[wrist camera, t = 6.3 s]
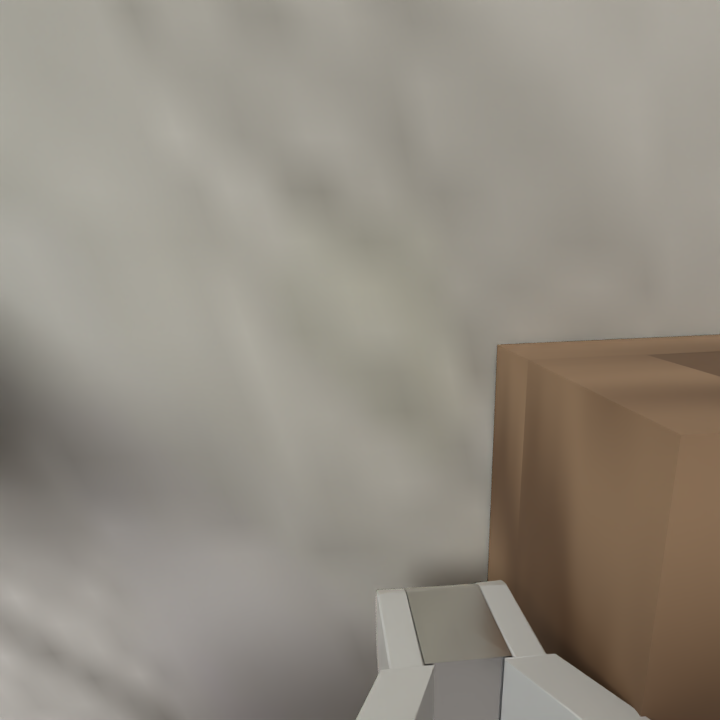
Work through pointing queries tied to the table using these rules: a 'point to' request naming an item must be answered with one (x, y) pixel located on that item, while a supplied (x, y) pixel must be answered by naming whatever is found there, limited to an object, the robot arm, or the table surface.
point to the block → (615, 512)
